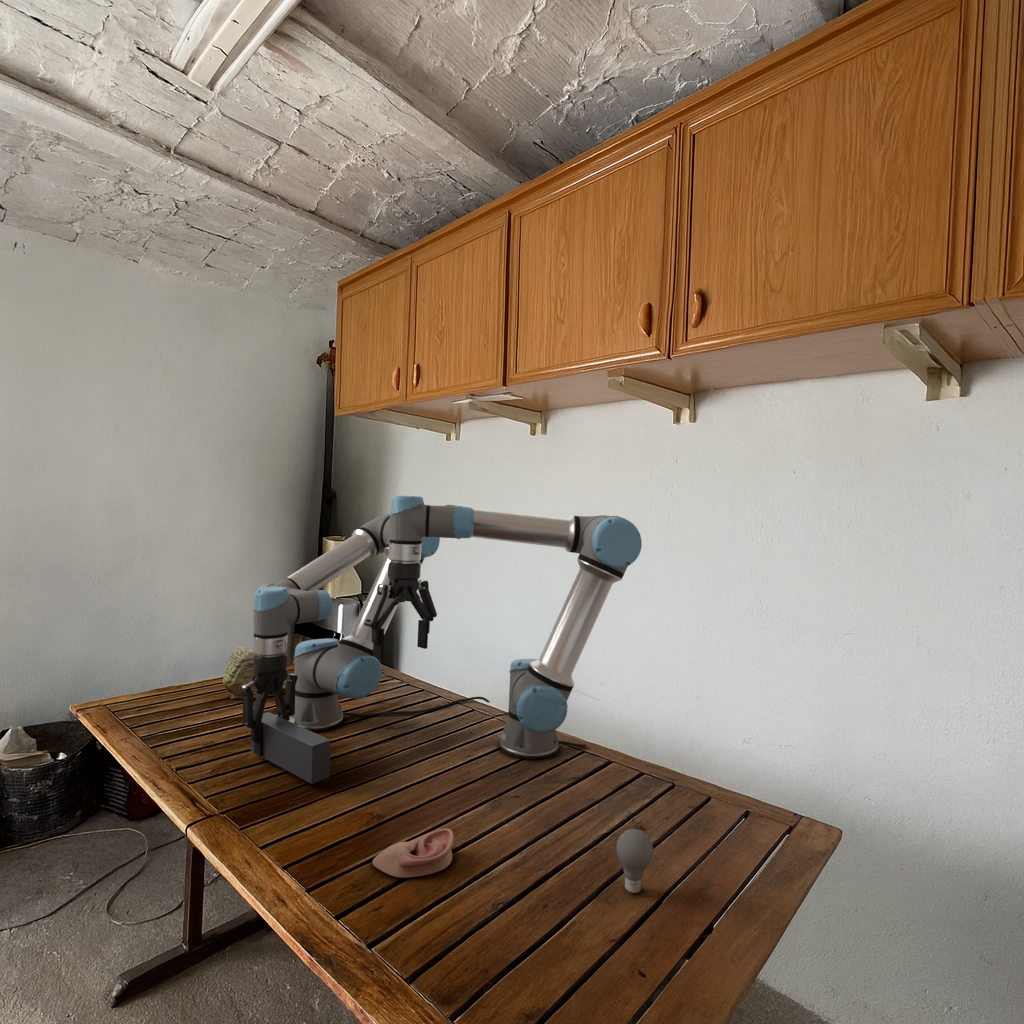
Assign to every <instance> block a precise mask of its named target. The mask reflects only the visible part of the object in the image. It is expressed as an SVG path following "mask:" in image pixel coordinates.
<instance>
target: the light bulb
mask: <svg viewBox="0 0 1024 1024" xmlns="http://www.w3.org/2000/svg"><path fill="white" fill-rule="evenodd" d="M615 849H616V854H617V857H618V859H619V861H620V863H621V865H622V867H623V873H624V874H623V875H624V876H625V878H624V888H625V890H627V891H628V892H630V893H634V894H635V893H639V892H640V891H641V889H642V887H641V886H642V879H643V877H644V875H645V871H646V868H647V867H648V866H649V864H650V863H651V861H652V859H653V855H654V847H653V843H652V841H651V838H649V836H648V835H647V834H646V833H645V832H643V831H642V830H641V829H636V828H629V829H627V830H625V831H623V832H622V833H621V834H620V835H619V837H618V839H617V841H616V847H615Z"/></svg>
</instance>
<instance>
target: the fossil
mask: <svg viewBox="0 0 1024 1024" xmlns="http://www.w3.org/2000/svg"><path fill="white" fill-rule="evenodd" d="M254 655H255V653H253V648H251V647H247V646H246V647H245V646H238V647H237V648H236V649H235V650H233V651H232V653H231V656H230V657H229V659H228V660H227V663H226V666H225V668H224V671H223V675H222V676H223V677H222V685H223V687H224V688H225V690H226V691H228V693H229V698H230V699H243V693H242V690H241V685H243V684H245V685H246V684H248V683H250V682H251V681H252V678H253V676H254V671H253V656H254ZM285 685H286V680H285V682H284V683H283V685H282V686H283V690H284V692H285ZM256 691H257V688H256V687H255V686H254V692H253V698H256ZM262 694H263V693H262ZM271 696H274V695H273V693H270V694H269V695H268V697H271Z"/></svg>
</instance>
